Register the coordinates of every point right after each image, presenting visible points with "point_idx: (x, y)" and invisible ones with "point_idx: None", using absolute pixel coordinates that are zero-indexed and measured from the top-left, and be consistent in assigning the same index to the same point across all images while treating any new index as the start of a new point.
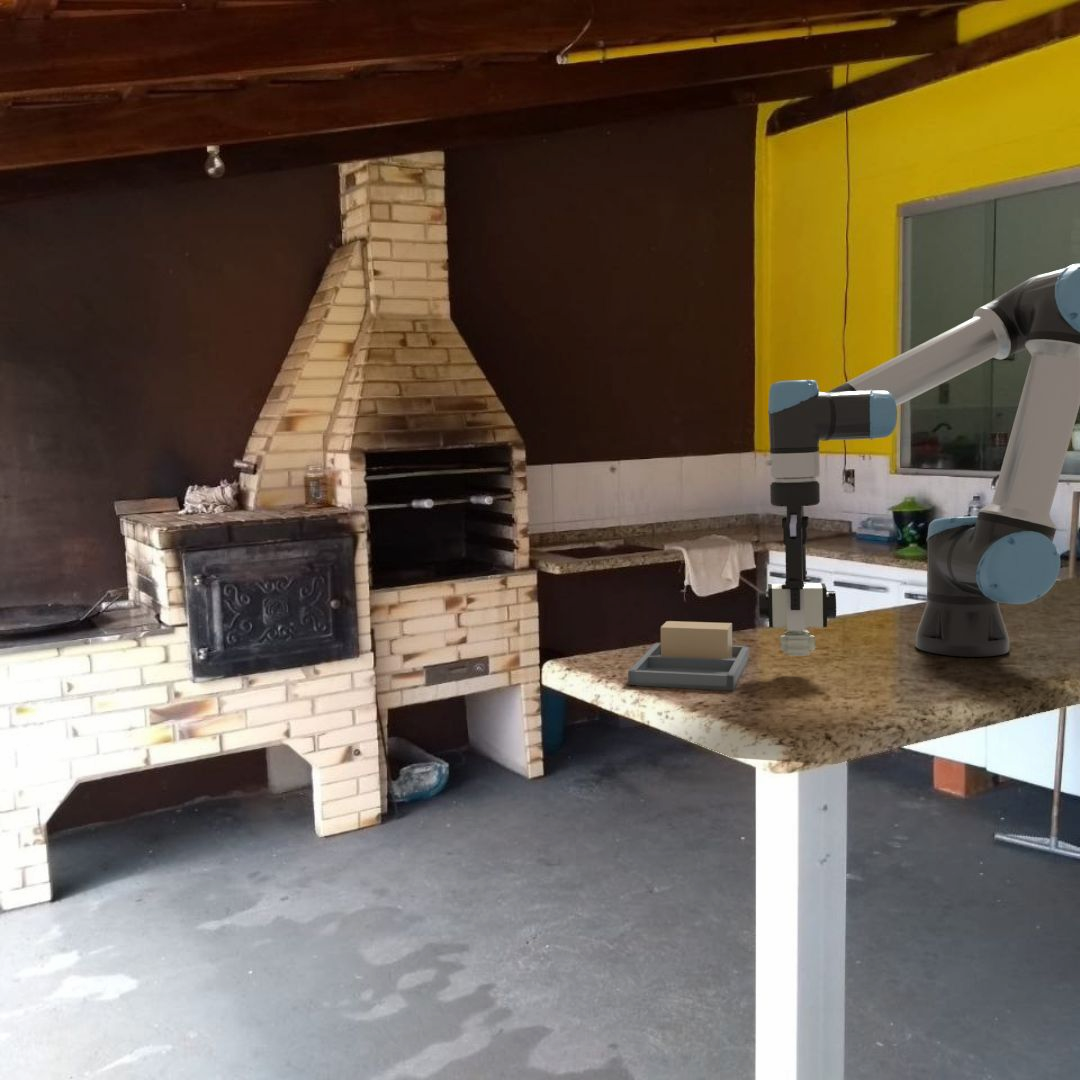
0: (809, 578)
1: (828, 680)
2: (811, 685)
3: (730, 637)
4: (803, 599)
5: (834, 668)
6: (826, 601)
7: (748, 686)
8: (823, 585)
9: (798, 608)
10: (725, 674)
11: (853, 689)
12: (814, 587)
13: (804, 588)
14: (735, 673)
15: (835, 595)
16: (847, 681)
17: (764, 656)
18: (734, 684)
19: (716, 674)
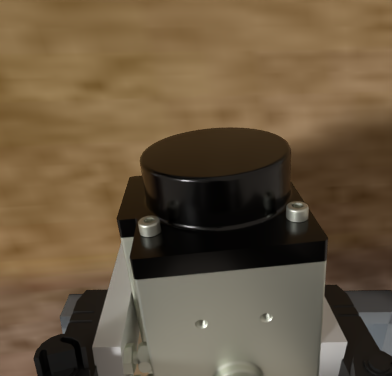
0: (66, 354)
1: (270, 103)
2: (330, 142)
3: (138, 373)
4: (325, 304)
5: (116, 91)
6: (302, 200)
7: (349, 268)
8: (225, 260)
9: (341, 294)
10: (389, 326)
11: (370, 32)
12: (301, 301)
13: (319, 342)
14: (362, 310)
15: (272, 166)
16: (275, 51)
17: (26, 266)
18: (374, 296)
19: (389, 341)
